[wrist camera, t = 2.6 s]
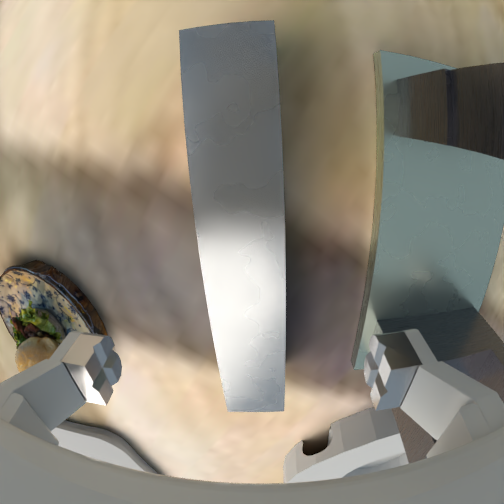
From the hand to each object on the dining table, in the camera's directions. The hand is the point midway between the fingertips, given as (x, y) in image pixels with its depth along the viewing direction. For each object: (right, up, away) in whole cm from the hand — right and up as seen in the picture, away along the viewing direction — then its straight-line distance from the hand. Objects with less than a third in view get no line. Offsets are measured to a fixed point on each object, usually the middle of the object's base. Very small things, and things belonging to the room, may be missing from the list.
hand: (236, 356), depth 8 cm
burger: (-16, -3, +12) cm, 20 cm away
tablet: (-26, -26, +23) cm, 43 cm away
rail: (0, +4, +8) cm, 9 cm away
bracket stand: (+12, +4, +7) cm, 15 cm away
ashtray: (+16, -21, +19) cm, 32 cm away
